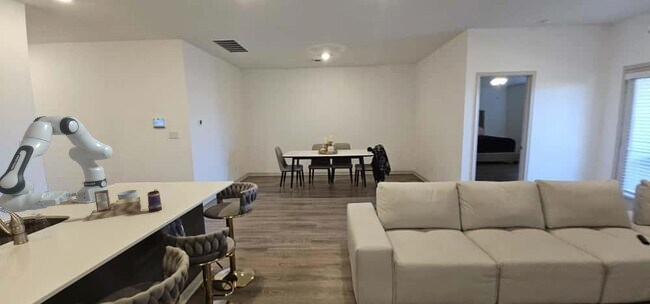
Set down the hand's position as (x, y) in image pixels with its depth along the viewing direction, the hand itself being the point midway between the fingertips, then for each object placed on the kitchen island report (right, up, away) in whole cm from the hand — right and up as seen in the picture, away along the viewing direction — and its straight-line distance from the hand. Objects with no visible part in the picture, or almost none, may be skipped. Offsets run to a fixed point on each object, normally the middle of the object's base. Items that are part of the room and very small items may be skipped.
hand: (74, 196), depth 161 cm
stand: (+16, -12, +11) cm, 23 cm away
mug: (+37, -11, +16) cm, 41 cm away
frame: (+11, -10, +8) cm, 17 cm away
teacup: (+9, -10, +33) cm, 35 cm away
